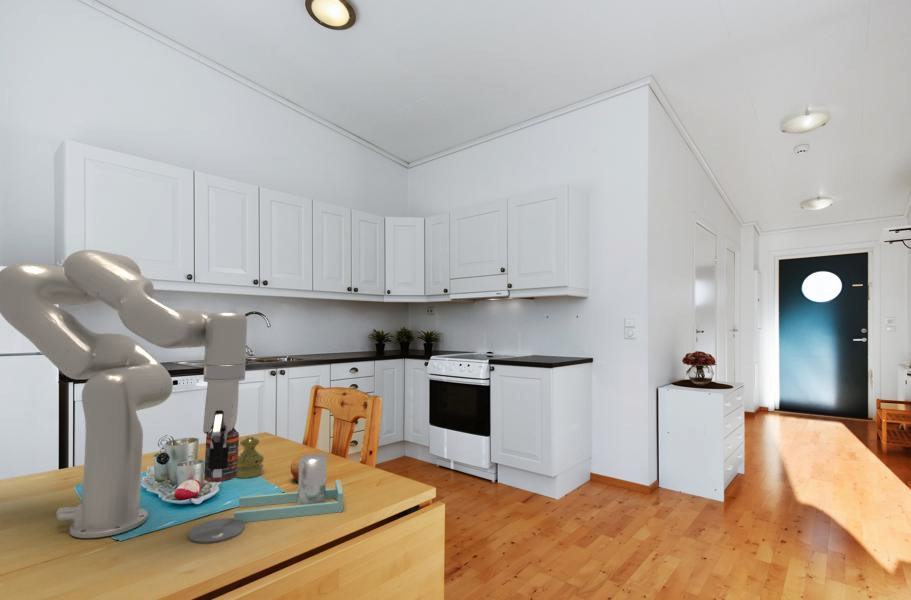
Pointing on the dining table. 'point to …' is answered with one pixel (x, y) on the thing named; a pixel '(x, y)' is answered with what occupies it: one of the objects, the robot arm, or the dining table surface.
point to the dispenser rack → (288, 510)
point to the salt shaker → (249, 459)
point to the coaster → (216, 530)
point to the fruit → (297, 466)
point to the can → (312, 479)
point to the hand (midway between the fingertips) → (221, 462)
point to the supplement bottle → (231, 469)
